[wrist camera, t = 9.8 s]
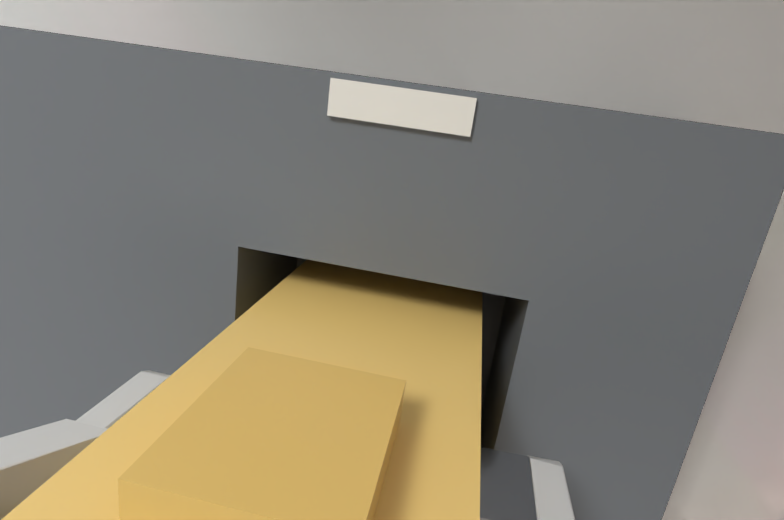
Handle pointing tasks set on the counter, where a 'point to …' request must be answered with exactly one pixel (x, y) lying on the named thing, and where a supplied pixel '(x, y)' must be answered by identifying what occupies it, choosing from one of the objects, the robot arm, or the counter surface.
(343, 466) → the plug
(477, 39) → the counter surface
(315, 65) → the counter surface
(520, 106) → the jack panel
